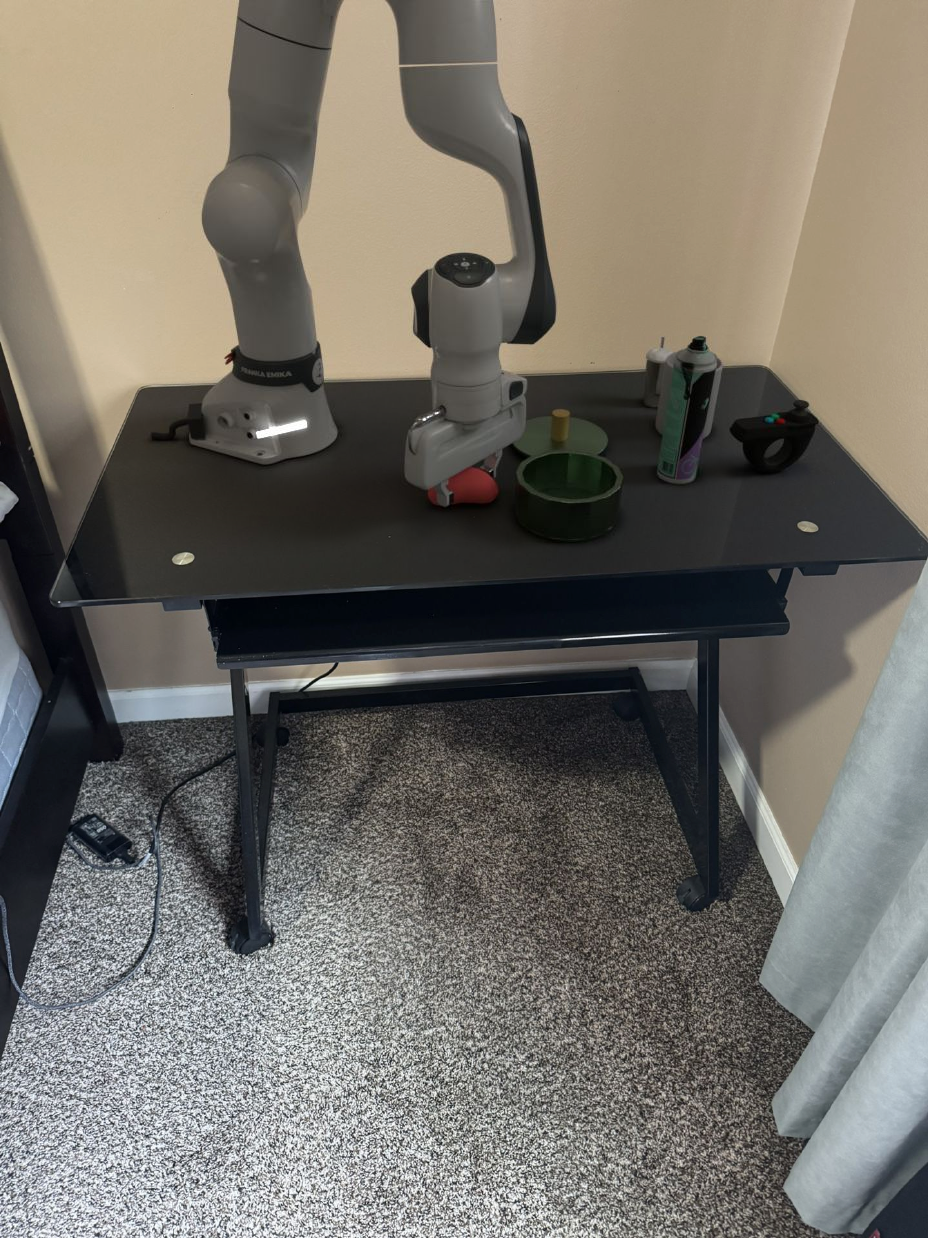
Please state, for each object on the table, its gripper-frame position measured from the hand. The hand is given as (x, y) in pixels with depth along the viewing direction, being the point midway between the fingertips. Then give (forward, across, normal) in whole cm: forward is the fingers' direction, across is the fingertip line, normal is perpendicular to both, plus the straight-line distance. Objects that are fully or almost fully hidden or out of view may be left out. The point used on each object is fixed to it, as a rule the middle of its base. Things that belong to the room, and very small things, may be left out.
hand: (467, 490), depth 118 cm
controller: (+2, +35, -26) cm, 44 cm away
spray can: (+2, +26, -17) cm, 31 cm away
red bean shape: (+2, 0, +1) cm, 2 cm away
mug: (+2, +38, -12) cm, 39 cm away
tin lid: (+1, +22, +1) cm, 22 cm away
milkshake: (+2, +44, -2) cm, 44 cm away
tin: (+2, +7, -12) cm, 14 cm away
